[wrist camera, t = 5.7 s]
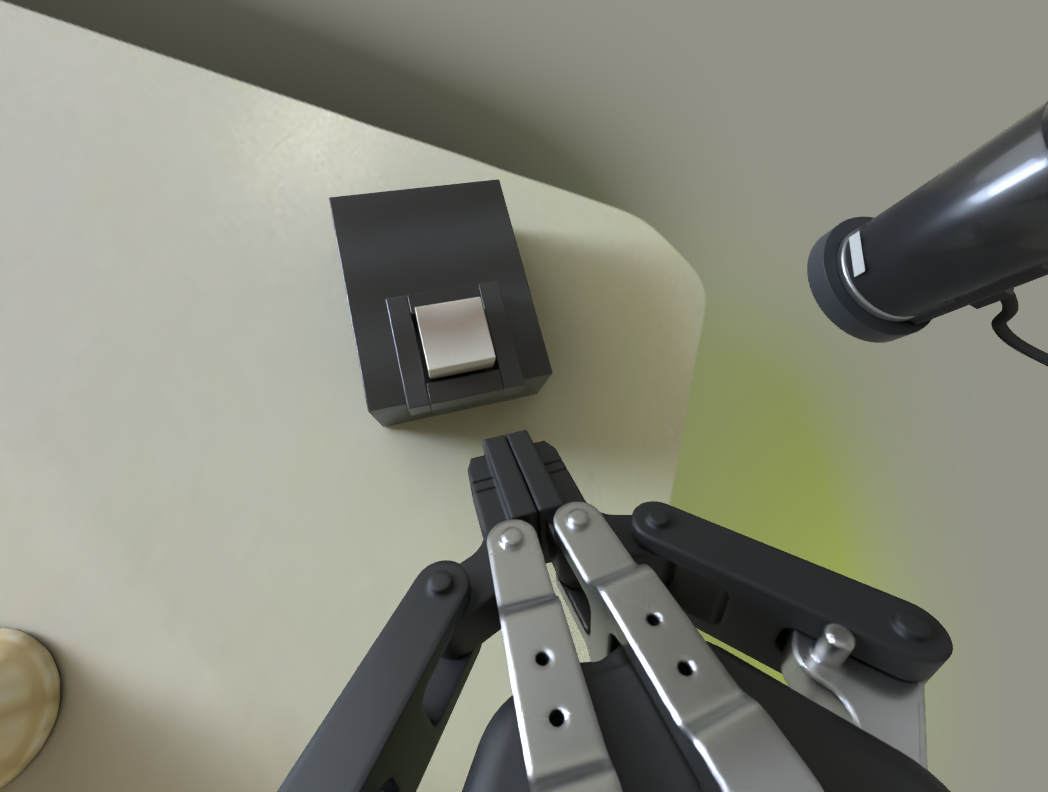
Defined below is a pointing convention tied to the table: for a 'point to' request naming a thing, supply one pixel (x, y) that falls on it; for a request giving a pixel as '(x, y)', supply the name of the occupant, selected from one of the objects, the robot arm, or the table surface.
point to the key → (455, 337)
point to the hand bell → (24, 700)
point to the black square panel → (435, 295)
